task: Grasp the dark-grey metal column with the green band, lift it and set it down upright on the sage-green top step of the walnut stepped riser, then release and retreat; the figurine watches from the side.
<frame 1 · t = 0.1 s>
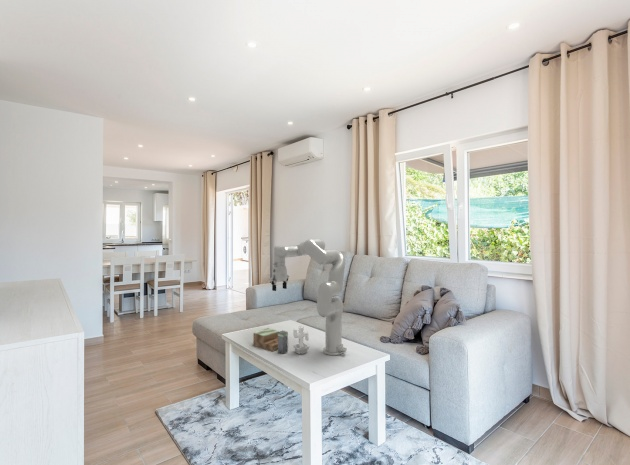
hand: (279, 289, 225), 31 cm above the table, fingers open, 9 cm apart
riser: (270, 345, 206), on the table
figurine: (301, 352, 196), on the table
column: (282, 352, 195), on the table
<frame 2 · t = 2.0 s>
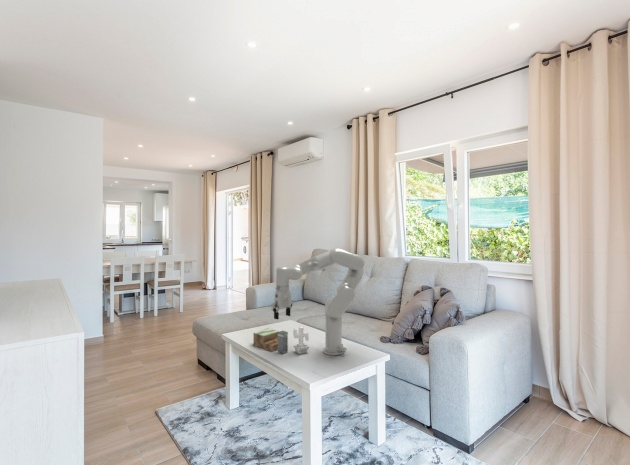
hand: (282, 317, 195), 21 cm above the table, fingers open, 9 cm apart
nothing on the table moved.
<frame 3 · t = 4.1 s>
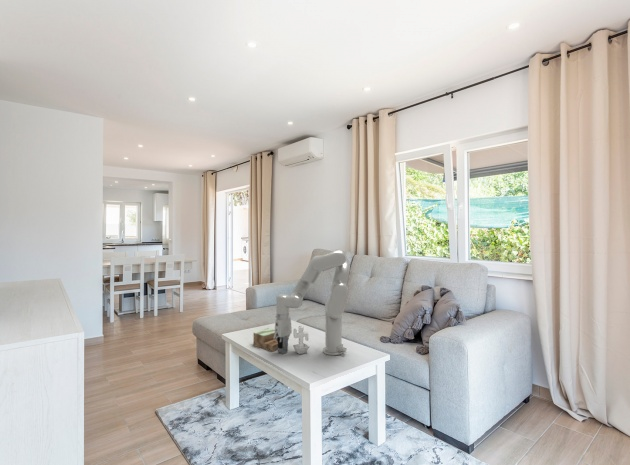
hand: (282, 346, 195), 3 cm above the table, fingers closed on column, 4 cm apart
column: (282, 352, 195), on the table, touching gripper
everything else where it was.
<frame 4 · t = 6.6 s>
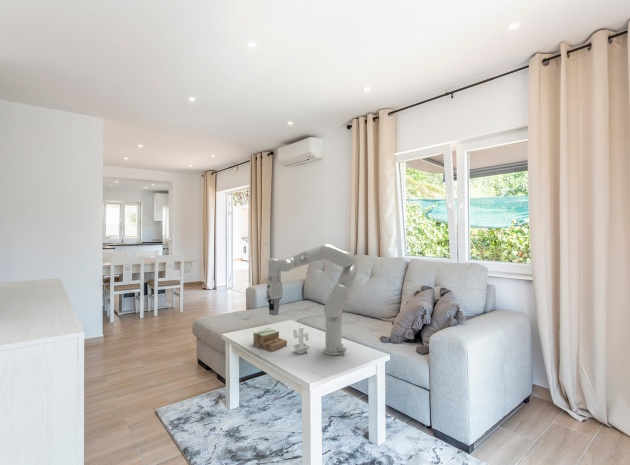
hand: (273, 308, 201), 24 cm above the table, fingers closed on column, 4 cm apart
column: (273, 314, 201), point 21 cm above the table, touching gripper
everything else where it was.
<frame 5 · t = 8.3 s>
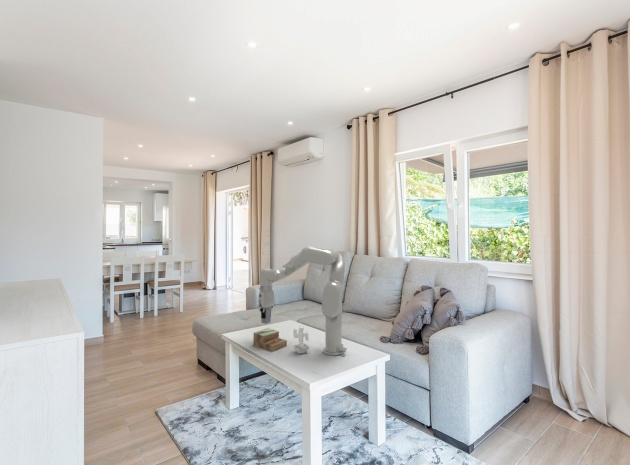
hand: (266, 317, 208), 17 cm above the table, fingers closed on column, 4 cm apart
column: (265, 322, 208), point 14 cm above the table, touching gripper
everything else where it was.
when the fingers open (12 cm above the table, at t = 9.4 s): column drops 1 cm, resting on riser.
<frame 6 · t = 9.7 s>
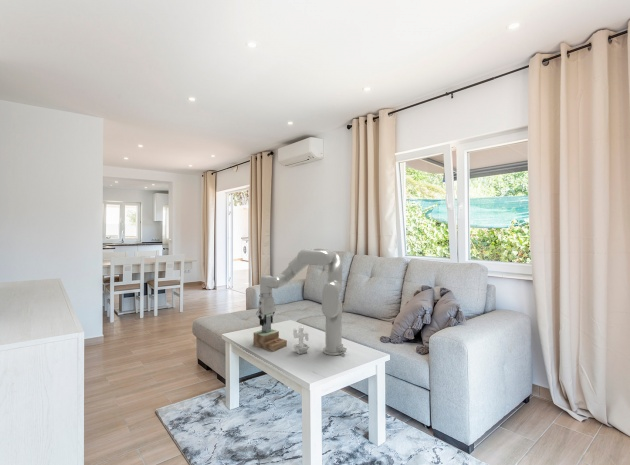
hand: (266, 323, 208), 13 cm above the table, fingers open, 6 cm apart
column: (266, 331, 208), point 8 cm above the table, touching riser
everything else where it was.
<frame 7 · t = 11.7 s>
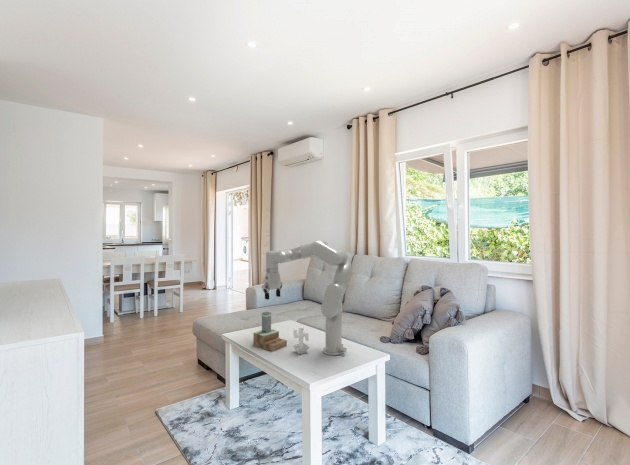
hand: (272, 297, 209), 29 cm above the table, fingers open, 9 cm apart
nothing on the table moved.
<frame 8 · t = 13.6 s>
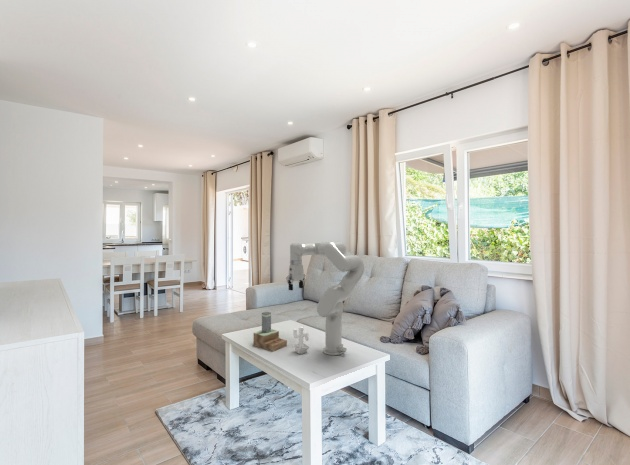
hand: (295, 289, 215), 33 cm above the table, fingers open, 9 cm apart
nothing on the table moved.
at the end: column inside the target area on the riser (0.9 cm from its centre), point 7.8 cm above the riser's base; column tilted 0°; the gripper is holding nothing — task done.
